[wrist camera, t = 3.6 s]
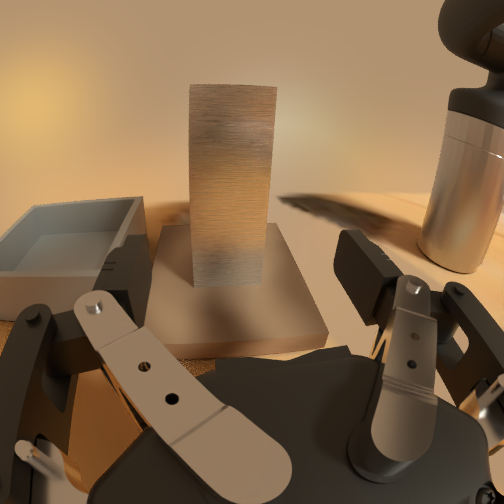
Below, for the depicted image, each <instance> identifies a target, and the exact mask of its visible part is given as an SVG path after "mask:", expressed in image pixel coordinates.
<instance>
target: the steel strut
mask: <svg viewBox="0 0 504 504" xmlns="http://www.w3.org/2000/svg"><path fill="white" fill-rule="evenodd" d="M276 94H277V87H269V86H254V85H253V86H252V85H226V84H223V85H222V84H203V85H202V84H201V85H200V84H197V85H190V89H189V192H190V222H191V243H192V260H193V276H194V288H196V287H223V286H246V285H261V282H262V270H263V259H264V248H265V236H266V224H267V212H268V199H269V188H270V175H271V174H270V173H271V163H272V150H273V137H274V122H275V110H276V96H277V95H276Z"/></svg>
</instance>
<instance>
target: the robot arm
mask: <svg viewBox="0 0 504 504" xmlns="http://www.w3.org/2000/svg"><path fill="white" fill-rule="evenodd" d="M438 31H439V35H440V38H441V41H442V42H443V44H444V45H445V46H446V48H447V49H448V50H449V51H450V52H452V53H453V54H455V55H456V56H458V57H460V58H462V59H464V60H466V61H468V62H471V63H473V64H476V65H478V66H480V67H482V68H484V69H487V70H489V75H488V80H487V83H486V85H485V86H484V87H481V88H457V89H453V90H452V91H451V93H450V96H449V103H448V111H447V118H446V124H445V131H444V137H443V143H442V148H441V153H440V158H439V163H438V167H437V172H436V176H435V181H434V185H433V189H432V193H431V197H430V200H429V204H428V208H427V211H426V215H425V218H424V222H423V225H422V228H421V231H420V235H419V238H418V242H417V243H418V246H419V248H420V250H421V251H422V252H423V253H424V254H425V255H426V256H427V257H428V258H429V259H431V260H432V261H434V262H435V263H437V264H439V265H441V266H443V267H445V268H447V269H450V270H453V271H456V272H460V273H472V272H474V271H476V269H477V268H478V266H479V264H482V262H483V259H484V257H485V254H486V252H487V249H488V247H489V244H490V242H491V239H492V236H493V234H494V231H495V228H496V225H497V222H498V219H499V216H500V213H501V210H502V207H503V204H504V0H445V2H444V3H443V6H442V8H441V11H440V15H439V19H438ZM333 266H334V272H335V275H336V277H337V278H338V280H339V281H340V283H341V284H342V286H343V288H344V289H345V291H346V293H347V295H348V296H349V298H350V299H351V301H352V303H353V304H354V306H355V308H356V309H357V311H358V313H359V315H360V316H361V318H362V320H363V321H364V323H365V325H366V326H369V325H375V324H378V326H379V327H378V329H377V332H376V335H375V339H374V342H373V346H372V349H371V353H370V356H369V358H368V357H364V356H359V355H351V353H350V350H349V348H348V346H347V345H346V346H339V347H333V348H326V349H319V350H316V351H313V352H310V353H308V354H305V355H302V356H300V357H297V358H294V359H291V360H287V361H282V360H272V359H262V358H253V357H246V358H231V359H215V363H216V370H212V371H209V372H206V373H204V374H201V375H199V376H197V377H196V378H195V377H194V376H193V375H192V374H191V373H190V372H189V371H188V370H187V369H186V368H185V367H184V366H183V365H182V364H181V363H180V362H179V361H178V360H177V359H176V358H175V357H174V356H173V355H172V354H171V353H170V352H169V351H168V350H167V349H166V348H165V347H164V345H163V344H162V343H161V342H160V341H159V340H158V339H157V338H156V337H155V336H154V335H153V333H152V332H151V331H150V330H149V329H148V328H147V327H145V326H144V322H145V316H146V310H147V305H148V299H149V294H150V288H151V283H152V268H151V261H150V254H149V247H148V239H147V235H146V234H130V235H127V237H126V239H125V242H124V244H123V246H122V247H115V248H114V249H113V250H112V251H111V252H110V253H109V254H108V255H107V257H106V259H105V261H104V264H103V266H102V268H101V271H100V273H99V275H98V277H97V279H96V282H95V284H94V287H93V289H92V291H91V292H88V293H86V294H84V295H82V296H81V297H80V298H78V300H77V301H76V302H75V304H74V309H73V310H70V311H66V312H62V313H57V314H52V312H51V309H50V308H49V306H47V305H45V304H33V305H30V306H28V307H27V308H25V309H24V310H23V311H22V312H21V313H20V314H19V315H18V317H17V319H16V321H15V323H14V325H13V328H12V330H11V332H10V334H9V337H8V339H7V341H6V344H5V346H4V349H3V351H2V354H1V356H0V504H504V496H503V495H501V494H500V493H499V492H498V491H497V490H496V488H495V487H494V484H493V482H492V478H491V473H490V466H489V456H491V455H493V454H495V453H496V452H497V451H499V450H500V449H501V448H502V447H504V332H503V330H502V329H501V328H500V327H499V325H498V324H497V323H496V321H495V320H494V319H493V318H492V316H491V315H490V314H489V313H488V311H487V310H486V309H485V308H484V306H483V305H482V304H481V303H480V302H479V300H478V299H477V298H476V297H475V296H474V295H473V293H472V292H471V291H470V290H469V289H468V288H467V287H465V286H464V285H462V284H460V283H457V282H448V283H447V284H446V285H445V287H444V290H443V292H437V291H431V290H430V288H429V286H428V285H427V283H425V282H424V281H423V280H421V279H420V278H418V277H415V276H412V275H404V274H403V273H402V272H401V271H400V270H399V268H398V267H397V266H396V265H395V264H394V263H393V262H392V261H391V260H390V258H389V257H388V256H387V255H386V254H385V253H384V252H383V250H382V249H381V248H380V247H379V246H377V245H376V244H374V243H373V242H371V241H369V240H368V239H367V238H366V236H365V235H364V234H363V233H362V232H361V231H360V230H342V231H341V233H340V235H339V240H338V244H337V249H336V253H335V258H334V265H333ZM459 326H460V327H461V328H462V330H463V331H464V333H465V334H466V336H467V337H468V340H469V346H468V349H467V351H466V352H465V354H464V353H463V352H462V350H461V349H460V347H459V346H458V344H457V343H456V341H455V340H454V338H453V335H454V333H455V332H456V330H457V328H458V327H459ZM96 369H100V370H101V372H102V373H103V375H104V377H105V378H106V380H107V381H108V383H109V384H110V386H111V387H112V389H113V390H114V392H115V393H116V395H117V396H118V398H119V399H120V401H121V402H122V403H123V405H124V406H125V408H126V409H127V411H128V412H129V414H130V416H131V417H132V418H133V420H134V421H135V423H136V424H137V425H138V427H139V428H140V429H141V431H142V433H141V434H140V435H139V436H138V437H137V438H136V439H135V440H134V442H133V443H132V444H131V445H130V446H129V447H128V448H127V449H126V450H125V451H124V452H123V454H122V455H121V456H120V457H119V458H118V459H117V460H116V461H115V462H114V463H113V464H112V465H111V466H110V467H109V469H108V470H107V471H106V472H105V473H104V474H103V475H102V476H101V477H100V478H99V479H98V480H97V481H96V482H95V484H94V485H93V487H92V488H91V490H90V492H89V494H88V493H87V492H86V490H85V489H84V487H83V484H82V480H81V473H80V470H79V468H78V466H77V465H76V463H75V462H74V461H73V460H72V459H70V458H69V457H68V446H69V436H70V427H71V419H72V411H73V404H74V398H75V392H76V386H77V381H78V375H79V373H83V372H87V371H91V370H96ZM436 369H437V371H438V373H439V374H440V376H441V378H442V380H443V382H444V383H445V386H446V387H447V389H448V391H449V393H450V395H451V397H452V399H453V401H454V403H455V405H456V407H455V406H453V405H452V404H450V403H448V402H446V401H445V400H443V399H441V398H440V397H437V396H436V395H434V381H435V370H436Z"/></svg>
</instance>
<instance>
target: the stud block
mask: <svg viewBox="0 0 504 504" xmlns="http://www.w3.org/2000/svg"><path fill="white" fill-rule="evenodd" d="M144 326H145V327H147V328H148V329H149V330H150V331H151V332H152V333H153V335H154V336H155V337H156V338H157V339H158V340H159V341H160V342H161V343H162V344H163V345H164V347H165V348H166V349H167V350H168V351H169V352H170V353H171V354H172V355H173V356H174V357H175V358H176V359H202V358H223V357H239V356H252V355H264V354H274V353H284V352H293V351H301V350H309V349H317V348H324V346H325V343H326V340H327V337H328V334H329V332H328V329H327V327H326V325H325V323H324V321H323V319H322V316H321V314H320V312H319V310H318V308H317V306H316V304H315V302H314V300H313V297H312V295H311V293H310V291H309V289H308V287H307V285H306V283H305V281H304V279H303V276H302V274H301V272H300V270H299V268H298V266H297V264H296V262H295V260H294V258H293V256H292V254H291V252H290V250H289V248H288V246H287V244H286V242H285V240H284V238H283V236H282V234H281V232H280V230H279V228H278V226H277V224H276V223H267V224H266V236H265V248H264V259H263V270H262V282H261V285H246V286H223V287H196V288H194V276H193V260H192V243H191V225H173V226H162V230H161V234H160V238H159V242H158V246H157V251H156V255H155V259H154V264H153V268H152V283H151V288H150V294H149V299H148V305H147V310H146V316H145V322H144Z"/></svg>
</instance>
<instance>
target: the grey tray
mask: <svg viewBox="0 0 504 504" xmlns="http://www.w3.org/2000/svg"><path fill="white" fill-rule="evenodd" d="M130 234H146V235H147V230H146V222H145V212H144V203H143V196H141V197H125V198H109V199H96V200H84V201H73V202H63V203H53V204H44V205H36V206H32V207H31V208H30V209H29V210H28V211H27V212H26V213H25V214H24V215H23V216H22V217H20V219H18V221H16V222H15V223H14V224H13V225H12V226H11V227H10V229H8V230H7V231H6V232H5V233H4V234H3V236H1V238H0V320H7V321H16V319H17V317H18V315H19V314H20V313H21V312H22V311H23V310H24V309H25V308H27V307H28V306H30V305H33V304H45V305H47V306H49V308H50V309H51V312H52V314H57V313H62V312H66V311H70V310H73V309H74V304H75V302H76V301H77V300H78V298H80V297H81V296H82V295H84V294H86V293H88V292H91V291H92V289H93V287H94V284H95V282H96V279H97V277H98V275H99V273H100V271H101V268H102V266H103V264H104V261H105V259H106V257H107V255H108V254H109V253H110V252H111V251H112V250H113V249H114V248H115V247H122V246H123V244H124V242H125V239H126V237H127V235H130Z"/></svg>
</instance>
